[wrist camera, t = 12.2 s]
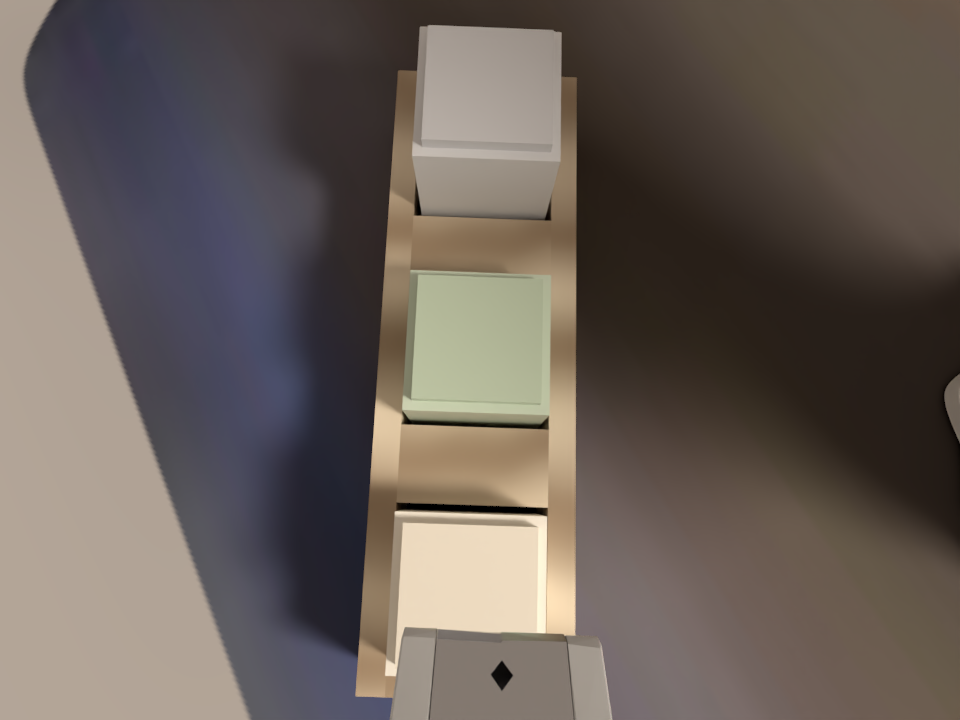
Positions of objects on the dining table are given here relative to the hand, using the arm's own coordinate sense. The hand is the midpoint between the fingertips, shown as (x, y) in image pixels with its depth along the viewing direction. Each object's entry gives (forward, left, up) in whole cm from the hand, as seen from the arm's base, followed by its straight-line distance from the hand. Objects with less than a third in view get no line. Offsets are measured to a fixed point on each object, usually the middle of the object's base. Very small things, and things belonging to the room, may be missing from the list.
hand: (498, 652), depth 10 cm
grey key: (-14, -12, -20) cm, 27 cm away
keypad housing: (-6, -6, -23) cm, 25 cm away
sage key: (-6, -6, -22) cm, 24 cm away
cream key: (+1, 0, -22) cm, 22 cm away
